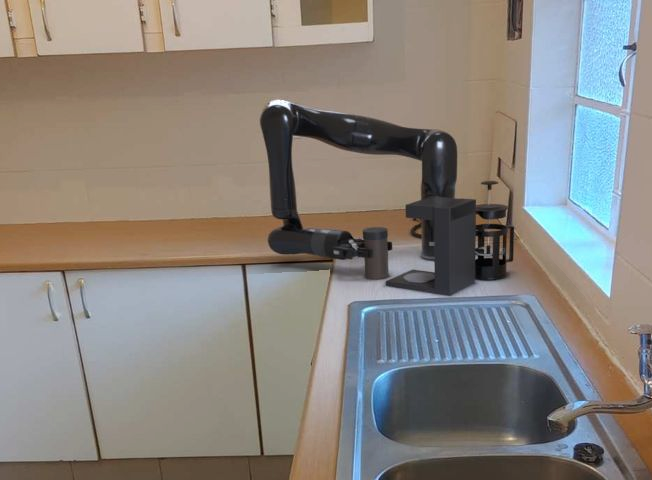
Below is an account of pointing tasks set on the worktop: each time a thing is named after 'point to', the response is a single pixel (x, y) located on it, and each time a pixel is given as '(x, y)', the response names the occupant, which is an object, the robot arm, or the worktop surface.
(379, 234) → the brown travel mug
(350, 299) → the worktop surface
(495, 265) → the french press
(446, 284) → the coffee maker
